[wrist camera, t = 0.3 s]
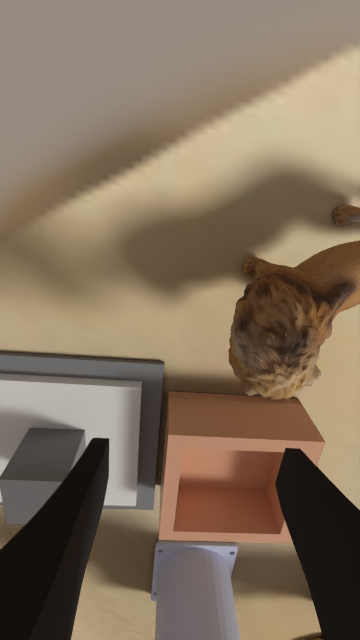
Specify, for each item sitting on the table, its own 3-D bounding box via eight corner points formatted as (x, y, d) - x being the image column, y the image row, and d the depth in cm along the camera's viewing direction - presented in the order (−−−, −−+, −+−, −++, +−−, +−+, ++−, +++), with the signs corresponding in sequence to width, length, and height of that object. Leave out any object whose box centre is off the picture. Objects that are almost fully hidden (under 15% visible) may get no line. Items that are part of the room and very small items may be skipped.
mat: (153, 505, 28) (153, 509, 27) (-18, 500, 27) (-21, 504, 26) (164, 361, 22) (164, 364, 22) (-53, 348, 21) (-57, 351, 21)
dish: (271, 490, 27) (290, 543, 23) (160, 486, 27) (158, 540, 23) (297, 398, 23) (325, 442, 19) (168, 391, 23) (168, 434, 19)
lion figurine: (236, 349, 22) (277, 445, 13) (193, 292, 20) (209, 362, 12) (436, 221, 19) (648, 242, 10) (406, 141, 17) (630, 90, 9)
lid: (136, 497, 27) (129, 564, 22) (-6, 492, 26) (-46, 561, 21) (142, 381, 22) (134, 433, 17) (-30, 371, 21) (-88, 423, 16)
